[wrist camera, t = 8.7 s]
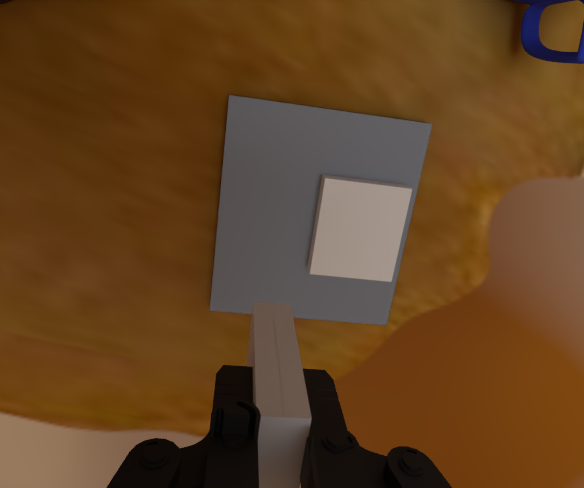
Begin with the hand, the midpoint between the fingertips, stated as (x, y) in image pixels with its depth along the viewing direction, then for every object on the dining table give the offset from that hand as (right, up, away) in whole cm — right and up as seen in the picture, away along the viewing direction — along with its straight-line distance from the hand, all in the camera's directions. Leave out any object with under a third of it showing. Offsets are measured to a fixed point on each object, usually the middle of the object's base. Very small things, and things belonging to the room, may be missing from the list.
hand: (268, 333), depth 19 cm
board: (+3, +6, +21) cm, 22 cm away
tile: (+3, +5, +18) cm, 19 cm away
